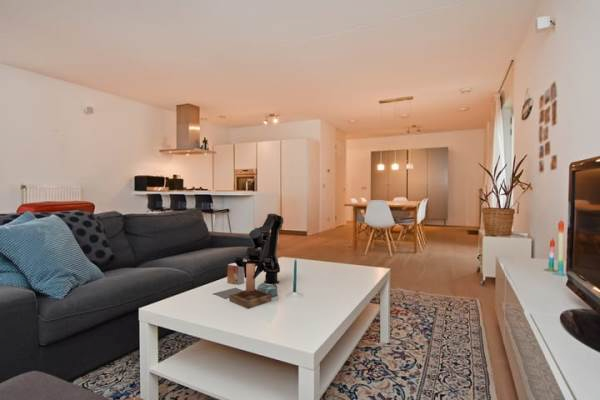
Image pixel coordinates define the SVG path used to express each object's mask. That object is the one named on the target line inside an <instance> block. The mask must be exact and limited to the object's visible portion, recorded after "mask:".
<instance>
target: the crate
mask: <svg viewBox="0 0 600 400" xmlns="http://www.w3.org/2000/svg"><path fill="white" fill-rule="evenodd" d="M229 302H231V303H234V304H236V305H238V306H241V307H243V308H246V309H247V310H249V309H251V308H255V307H257V306H261V305H264V304H267V303H270V302H272V294H270V293H268V292H264V291H261V290H259V289H256V288H255V290H254V291H246V289H245V290H243V291H241V292H237V293H234V294H230V298H229Z"/></svg>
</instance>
